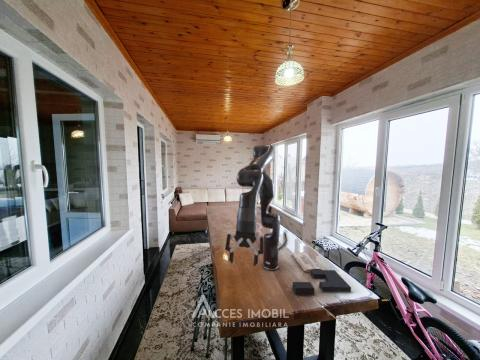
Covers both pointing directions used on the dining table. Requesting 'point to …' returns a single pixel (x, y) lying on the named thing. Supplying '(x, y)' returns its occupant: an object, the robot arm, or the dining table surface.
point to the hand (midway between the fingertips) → (243, 264)
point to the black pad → (303, 288)
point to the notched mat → (331, 281)
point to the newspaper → (306, 262)
